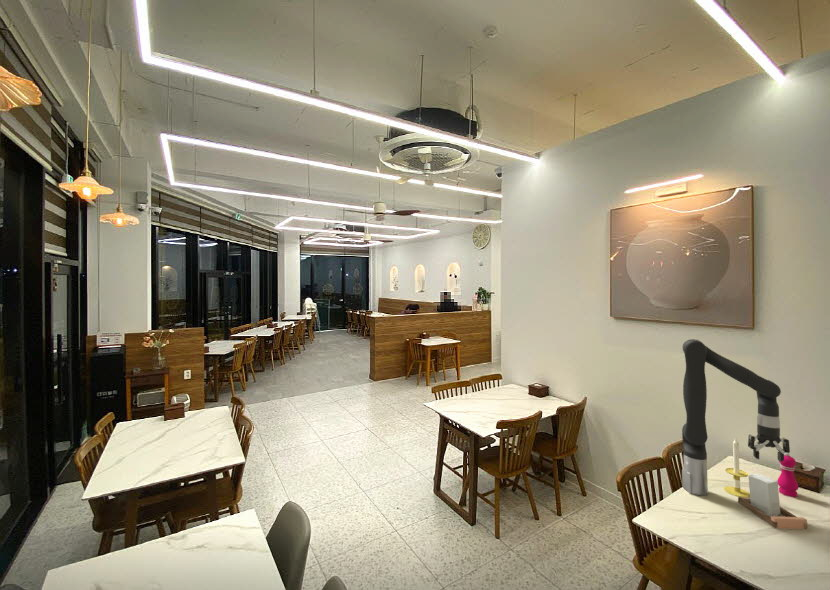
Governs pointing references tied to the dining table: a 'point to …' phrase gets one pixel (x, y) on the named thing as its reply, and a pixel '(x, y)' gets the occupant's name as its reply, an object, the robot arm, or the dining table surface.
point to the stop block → (789, 522)
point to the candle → (736, 474)
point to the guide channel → (747, 504)
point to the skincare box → (764, 494)
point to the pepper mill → (787, 477)
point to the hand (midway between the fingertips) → (768, 459)
